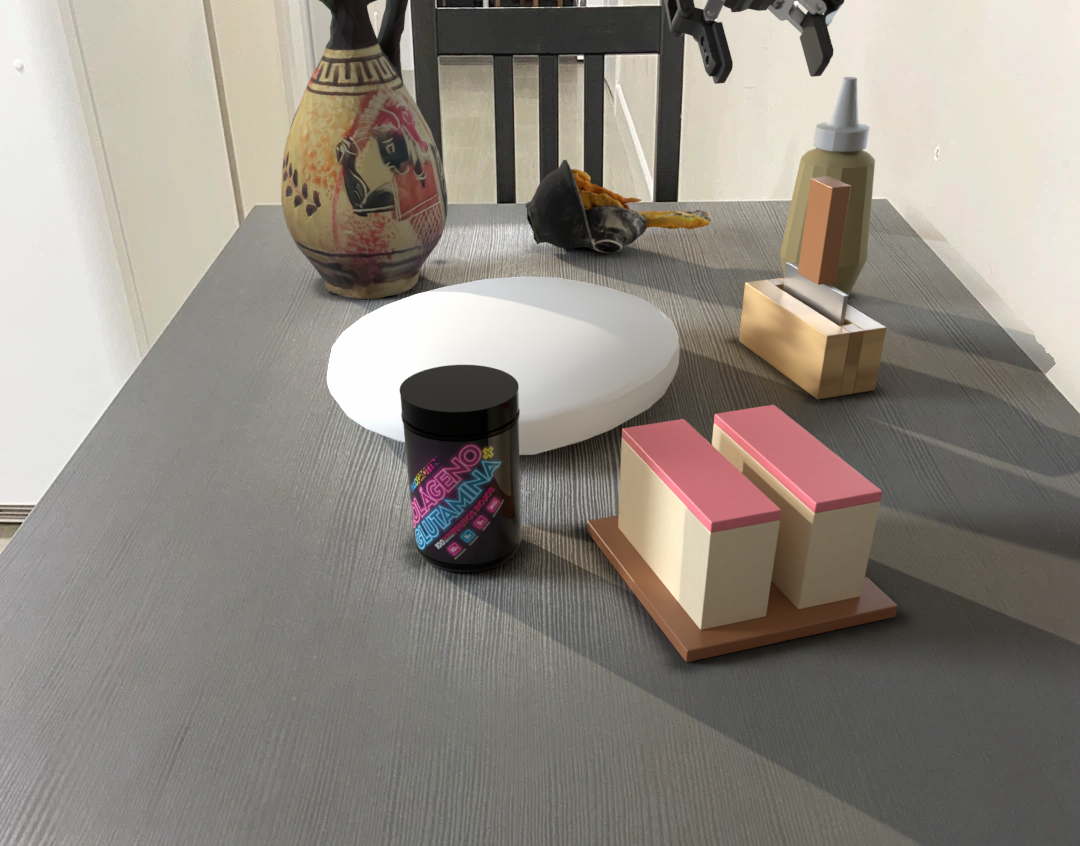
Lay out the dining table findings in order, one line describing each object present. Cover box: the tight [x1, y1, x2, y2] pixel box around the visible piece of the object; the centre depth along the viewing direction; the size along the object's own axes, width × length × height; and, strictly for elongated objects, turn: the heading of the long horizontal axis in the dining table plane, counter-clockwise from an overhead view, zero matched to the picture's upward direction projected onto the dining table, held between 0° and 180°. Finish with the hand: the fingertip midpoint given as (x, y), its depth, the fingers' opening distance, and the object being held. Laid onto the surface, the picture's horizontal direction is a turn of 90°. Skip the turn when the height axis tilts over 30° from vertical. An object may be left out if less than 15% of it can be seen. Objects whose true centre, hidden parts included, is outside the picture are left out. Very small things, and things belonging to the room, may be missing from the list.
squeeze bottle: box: [779, 76, 876, 296], centre depth 98 cm, size 8×8×18 cm
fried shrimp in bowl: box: [525, 159, 712, 254], centre depth 113 cm, size 9×11×18 cm
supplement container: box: [400, 365, 522, 574], centre depth 64 cm, size 7×7×10 cm
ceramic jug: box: [280, 0, 449, 300], centre depth 98 cm, size 17×15×30 cm
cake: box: [586, 404, 899, 663], centre depth 63 cm, size 15×13×7 cm
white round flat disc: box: [326, 275, 681, 456], centre depth 84 cm, size 28×6×27 cm
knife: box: [783, 176, 851, 326], centre depth 86 cm, size 9×2×14 cm, turn 19°
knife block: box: [738, 277, 888, 400], centre depth 89 cm, size 13×5×5 cm, turn 19°
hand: (773, 73), depth 86 cm, fingers open, 8 cm apart
